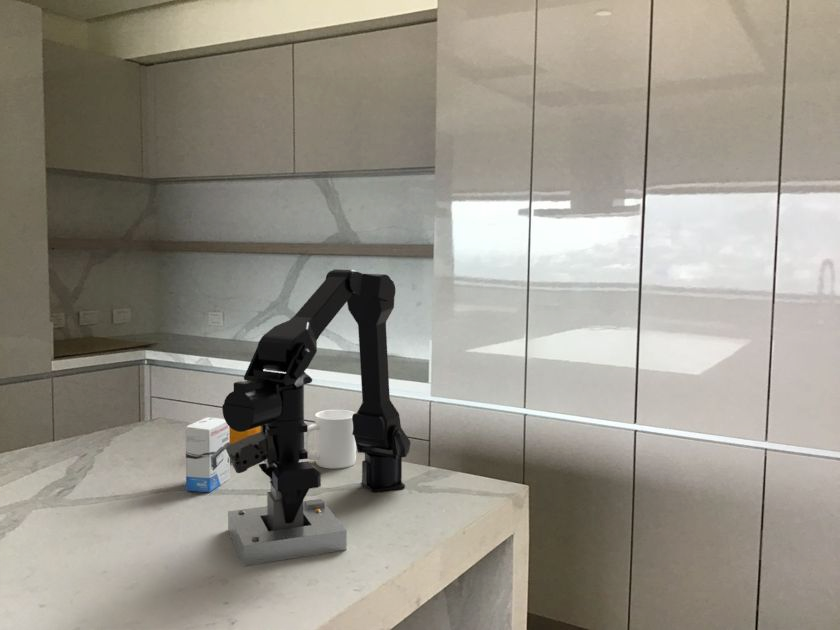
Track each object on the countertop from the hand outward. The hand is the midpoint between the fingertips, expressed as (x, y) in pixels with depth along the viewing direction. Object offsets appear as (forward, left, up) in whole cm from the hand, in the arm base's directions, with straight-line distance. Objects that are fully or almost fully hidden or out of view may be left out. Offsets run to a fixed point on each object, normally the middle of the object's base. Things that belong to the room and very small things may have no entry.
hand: (285, 517), depth 114 cm
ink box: (+8, -30, -4) cm, 31 cm away
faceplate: (0, 0, -4) cm, 4 cm away
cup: (-16, -34, -4) cm, 38 cm away
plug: (0, 0, -2) cm, 2 cm away
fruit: (-2, -48, -4) cm, 48 cm away
